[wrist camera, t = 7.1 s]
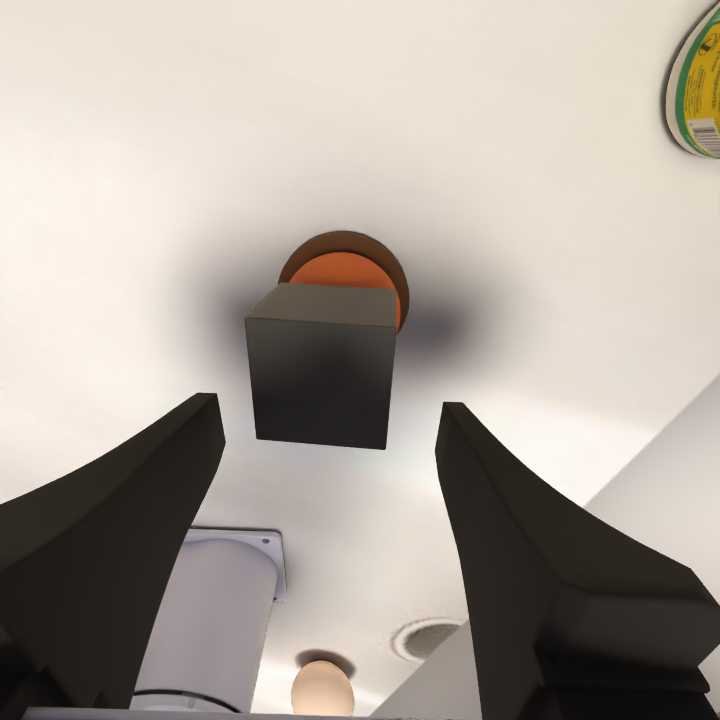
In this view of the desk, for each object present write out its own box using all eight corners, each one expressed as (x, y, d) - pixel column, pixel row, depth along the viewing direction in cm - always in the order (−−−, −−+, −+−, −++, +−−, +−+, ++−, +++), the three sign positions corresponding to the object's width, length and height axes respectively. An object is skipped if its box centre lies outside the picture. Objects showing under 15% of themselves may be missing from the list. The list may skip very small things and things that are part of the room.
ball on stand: (285, 346, 20) (262, 402, 15) (277, 225, 17) (247, 253, 12) (400, 350, 20) (410, 408, 15) (413, 231, 17) (429, 261, 12)
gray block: (285, 382, 15) (255, 440, 12) (280, 281, 13) (243, 317, 10) (387, 390, 15) (385, 450, 11) (396, 289, 13) (396, 327, 10)
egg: (330, 663, 32) (376, 693, 34) (300, 640, 36) (344, 669, 38) (298, 733, 29) (350, 761, 32) (268, 701, 33) (318, 728, 35)
